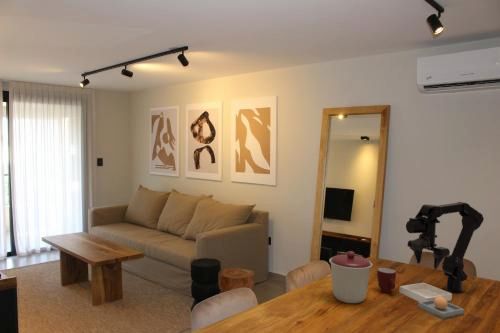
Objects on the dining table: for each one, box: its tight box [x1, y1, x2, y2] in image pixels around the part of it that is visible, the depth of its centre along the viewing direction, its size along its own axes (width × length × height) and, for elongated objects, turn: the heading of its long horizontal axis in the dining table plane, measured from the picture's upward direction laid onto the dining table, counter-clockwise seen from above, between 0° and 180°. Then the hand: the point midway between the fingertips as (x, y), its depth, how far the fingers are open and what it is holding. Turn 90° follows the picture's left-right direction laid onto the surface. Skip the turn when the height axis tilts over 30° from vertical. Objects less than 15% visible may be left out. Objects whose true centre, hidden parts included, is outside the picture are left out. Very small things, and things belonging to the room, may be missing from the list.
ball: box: [434, 297, 448, 309], centre depth 159 cm, size 5×5×5 cm
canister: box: [329, 250, 373, 304], centre depth 169 cm, size 18×18×21 cm
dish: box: [398, 282, 453, 302], centre depth 175 cm, size 15×15×3 cm
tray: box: [417, 299, 465, 320], centre depth 159 cm, size 12×12×2 cm
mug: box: [376, 267, 397, 294], centre depth 178 cm, size 10×8×10 cm
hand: (426, 266), depth 179 cm, fingers open, 9 cm apart
